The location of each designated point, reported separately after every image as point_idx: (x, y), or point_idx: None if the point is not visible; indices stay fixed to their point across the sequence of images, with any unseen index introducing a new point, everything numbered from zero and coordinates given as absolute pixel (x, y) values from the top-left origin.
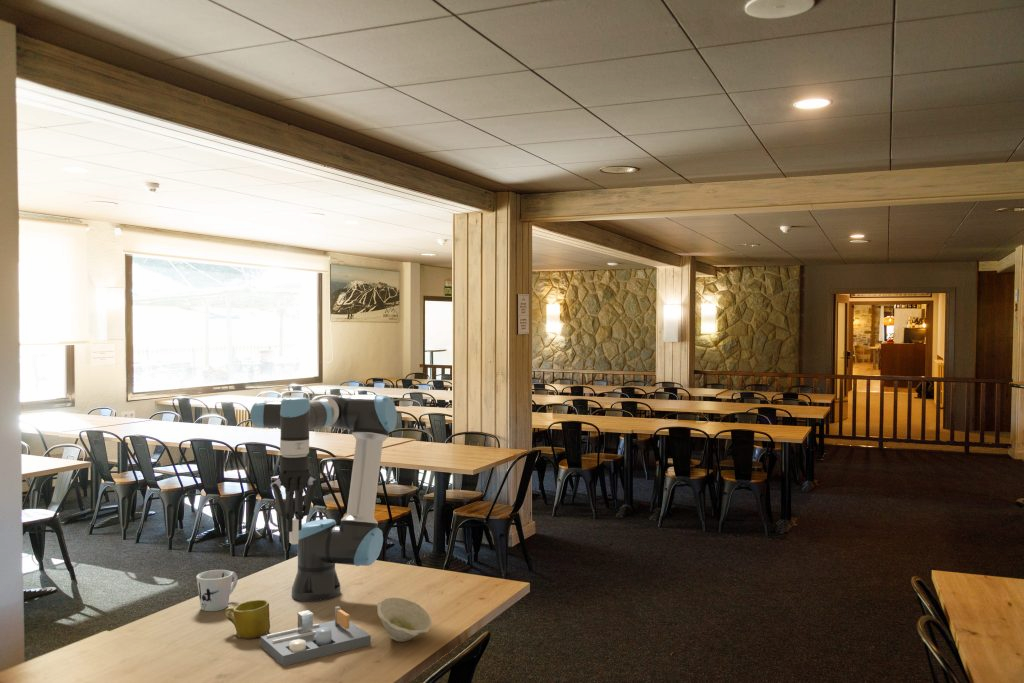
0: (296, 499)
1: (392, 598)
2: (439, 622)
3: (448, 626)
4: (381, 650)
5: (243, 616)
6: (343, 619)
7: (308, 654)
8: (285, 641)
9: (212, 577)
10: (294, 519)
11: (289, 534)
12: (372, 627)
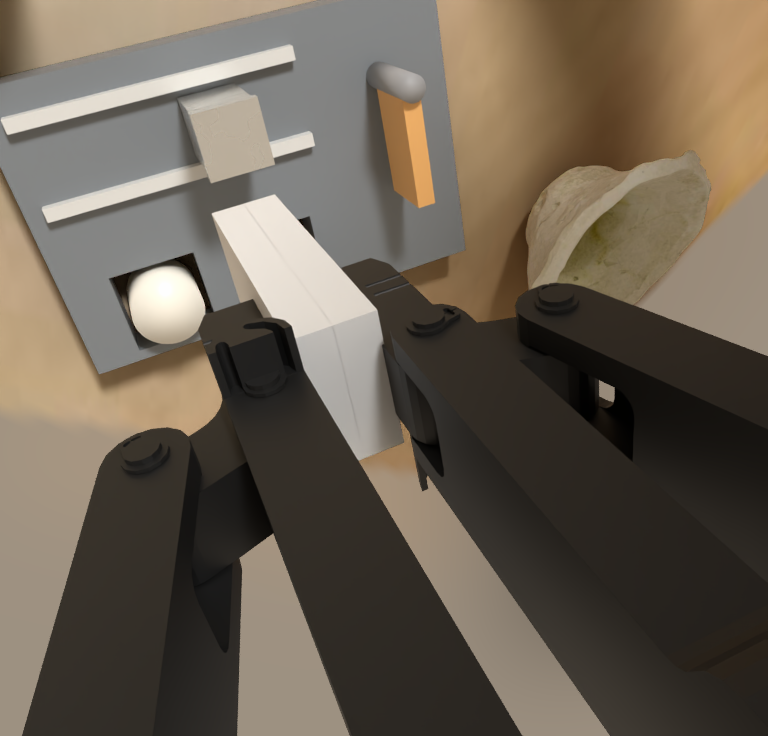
0: (565, 604)
1: (648, 180)
2: (735, 91)
3: (733, 147)
4: (463, 300)
5: None
6: (404, 174)
7: None
8: (110, 214)
9: None
10: (351, 428)
11: (233, 252)
12: (517, 39)
